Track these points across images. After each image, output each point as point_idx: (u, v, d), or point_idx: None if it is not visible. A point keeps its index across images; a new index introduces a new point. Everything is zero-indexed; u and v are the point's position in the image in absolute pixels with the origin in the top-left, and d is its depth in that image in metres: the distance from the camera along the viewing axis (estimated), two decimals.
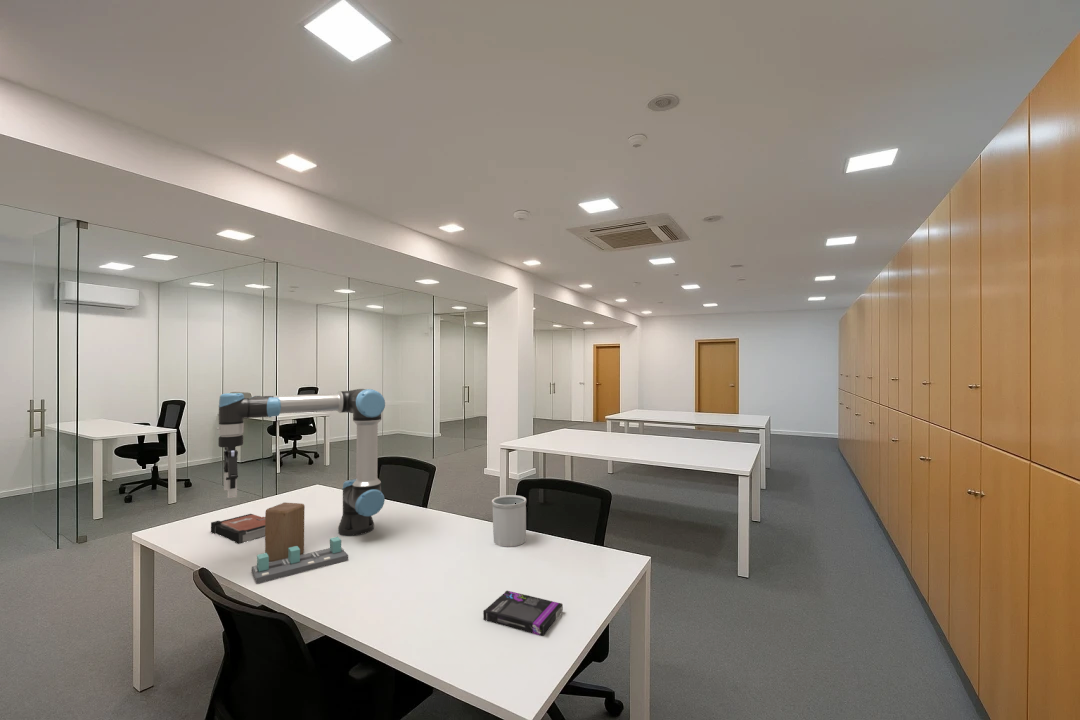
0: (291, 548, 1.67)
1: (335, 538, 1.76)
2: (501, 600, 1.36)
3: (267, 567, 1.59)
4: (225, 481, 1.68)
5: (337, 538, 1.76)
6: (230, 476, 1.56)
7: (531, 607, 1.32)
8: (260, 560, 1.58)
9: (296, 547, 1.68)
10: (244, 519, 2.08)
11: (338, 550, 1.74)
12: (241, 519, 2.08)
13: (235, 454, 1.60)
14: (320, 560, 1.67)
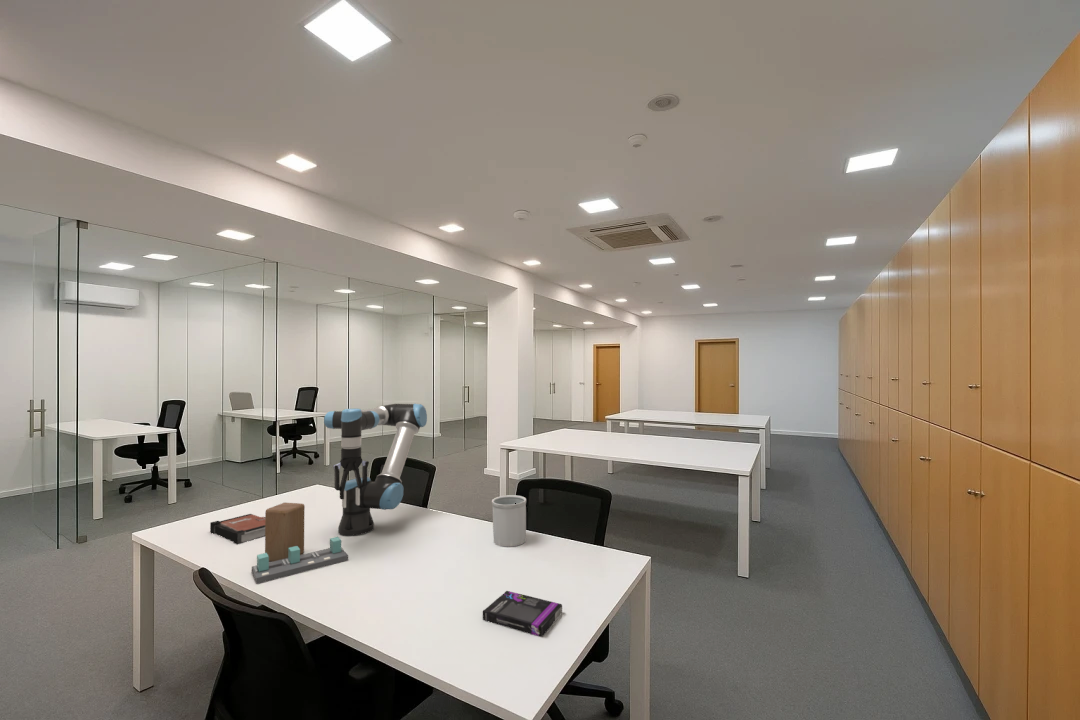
0: (291, 548, 1.67)
1: (335, 538, 1.76)
2: (500, 600, 1.36)
3: (267, 567, 1.59)
4: (355, 495, 1.82)
5: (337, 538, 1.76)
6: None
7: (530, 607, 1.31)
8: (260, 560, 1.58)
9: (296, 547, 1.68)
10: (243, 519, 2.08)
11: (338, 550, 1.74)
12: (240, 519, 2.08)
13: (335, 469, 1.76)
14: (320, 560, 1.67)
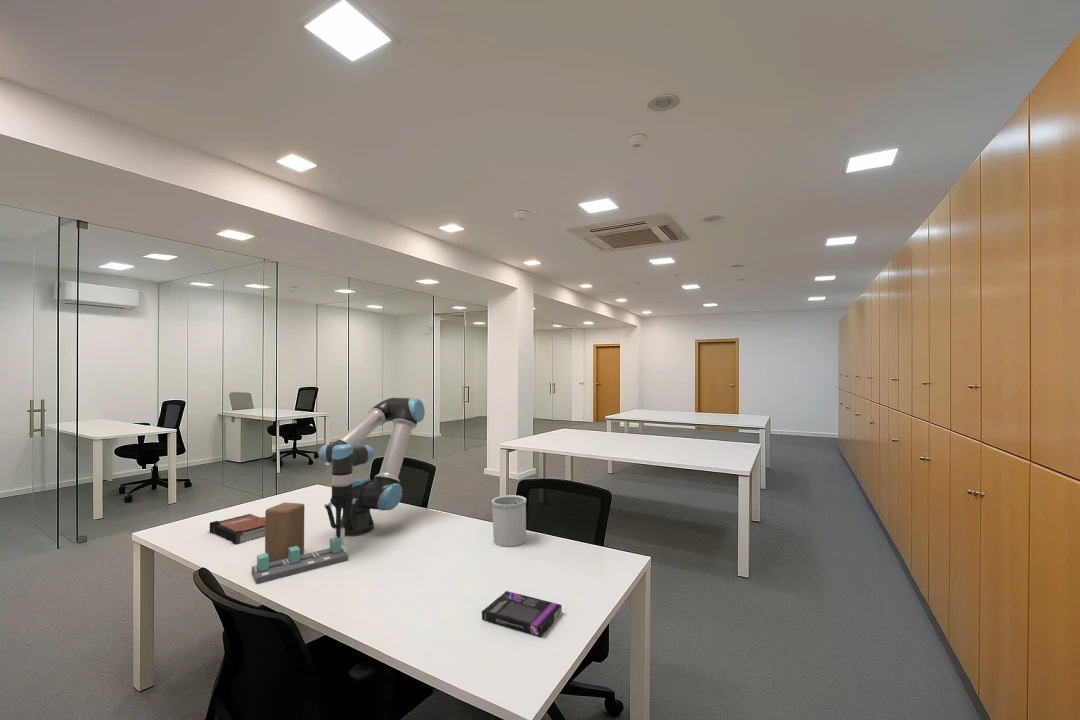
0: (291, 548, 1.67)
1: (335, 538, 1.76)
2: (500, 601, 1.35)
3: (267, 567, 1.59)
4: None
5: (337, 538, 1.76)
6: (331, 526, 1.75)
7: (529, 607, 1.31)
8: (260, 560, 1.58)
9: (296, 547, 1.68)
10: (243, 519, 2.08)
11: (338, 550, 1.74)
12: (240, 519, 2.08)
13: None
14: (320, 560, 1.67)
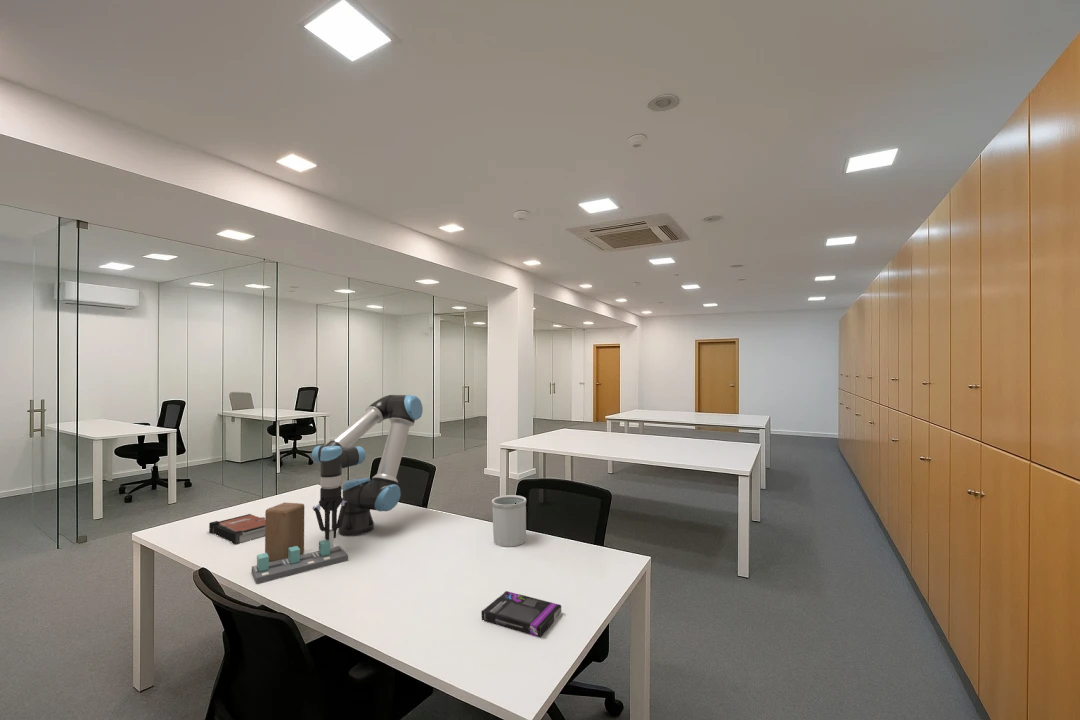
0: (291, 548, 1.67)
1: (324, 541, 1.74)
2: (499, 601, 1.35)
3: (267, 567, 1.59)
4: None
5: (326, 541, 1.74)
6: None
7: (529, 608, 1.31)
8: (260, 560, 1.58)
9: (296, 547, 1.68)
10: (242, 520, 2.08)
11: (327, 553, 1.72)
12: (239, 519, 2.08)
13: None
14: (320, 560, 1.67)
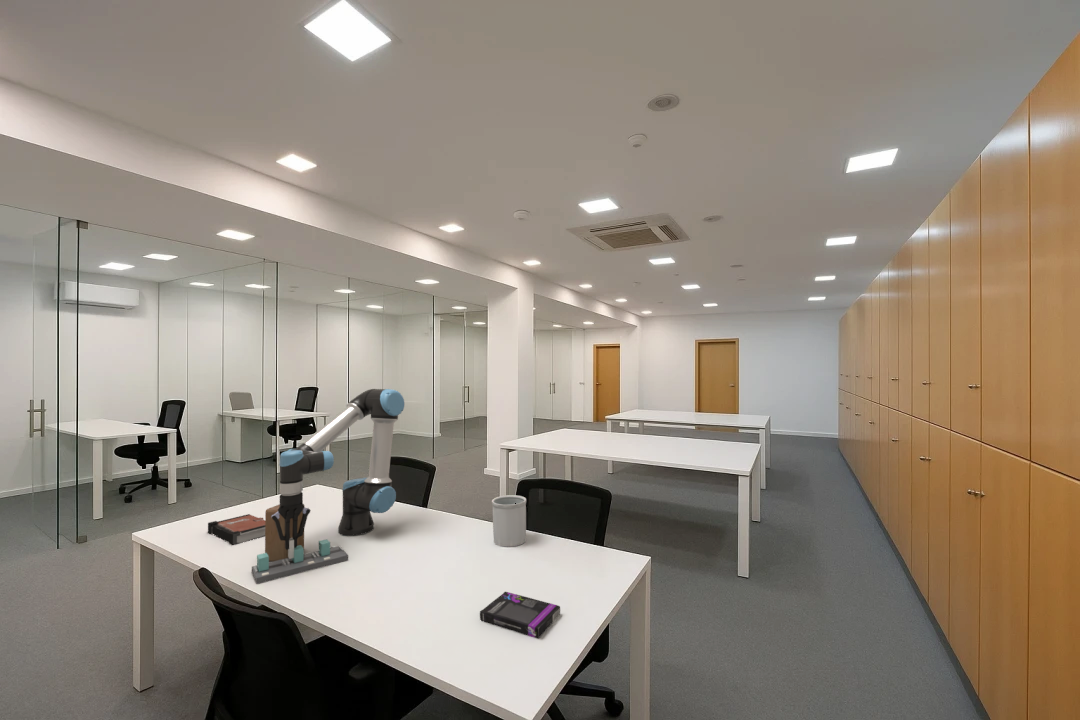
0: None
1: (324, 541, 1.74)
2: (498, 601, 1.35)
3: (267, 567, 1.59)
4: None
5: (326, 541, 1.74)
6: (279, 537, 1.64)
7: (528, 608, 1.31)
8: (260, 560, 1.58)
9: (300, 546, 1.68)
10: (241, 520, 2.07)
11: (327, 553, 1.72)
12: (238, 520, 2.07)
13: None
14: (320, 560, 1.67)
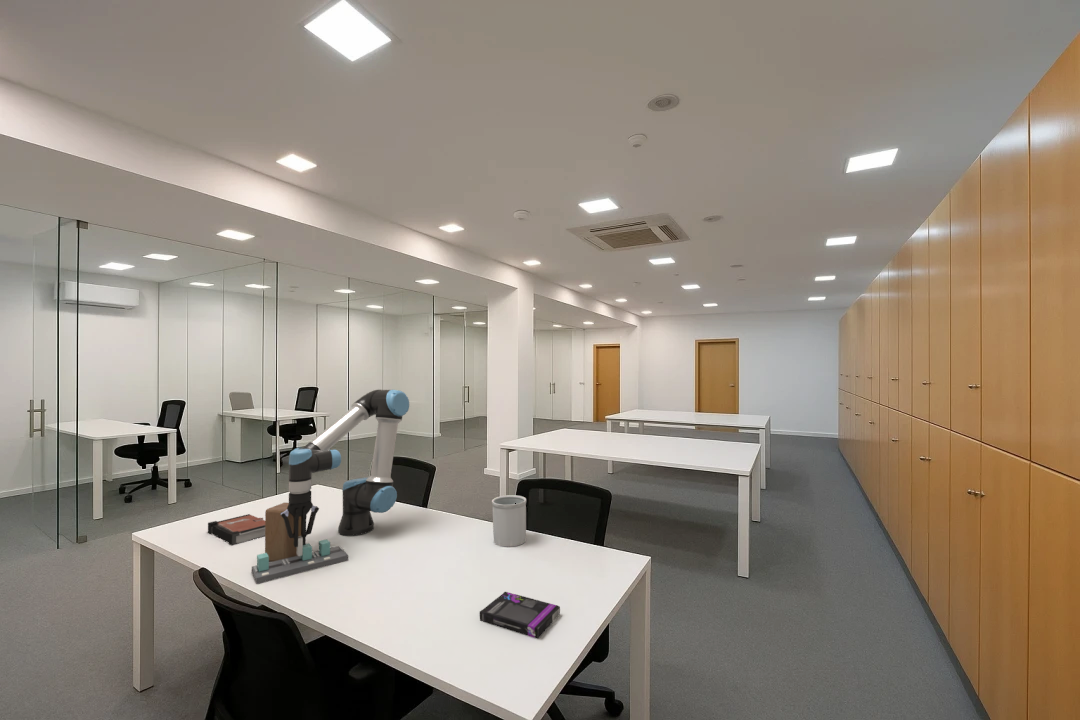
0: (303, 545, 1.69)
1: (324, 541, 1.74)
2: (498, 601, 1.35)
3: (267, 567, 1.59)
4: None
5: (326, 541, 1.74)
6: (288, 535, 1.66)
7: (527, 608, 1.31)
8: (260, 560, 1.58)
9: (308, 544, 1.70)
10: (241, 520, 2.07)
11: (327, 553, 1.72)
12: (238, 520, 2.07)
13: None
14: (320, 560, 1.67)
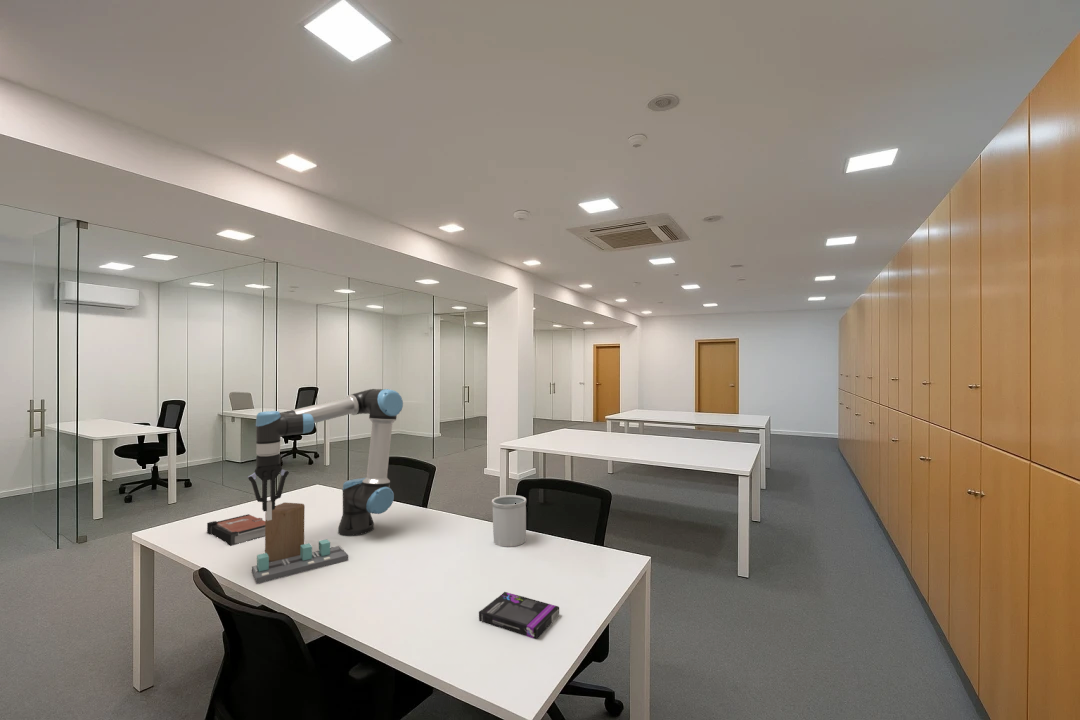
0: (303, 545, 1.69)
1: (324, 541, 1.74)
2: (497, 602, 1.35)
3: (267, 567, 1.59)
4: None
5: (326, 541, 1.74)
6: (256, 499, 1.61)
7: (527, 609, 1.30)
8: (260, 560, 1.58)
9: (308, 544, 1.70)
10: (240, 520, 2.07)
11: (327, 553, 1.72)
12: (237, 520, 2.07)
13: None
14: (320, 560, 1.67)
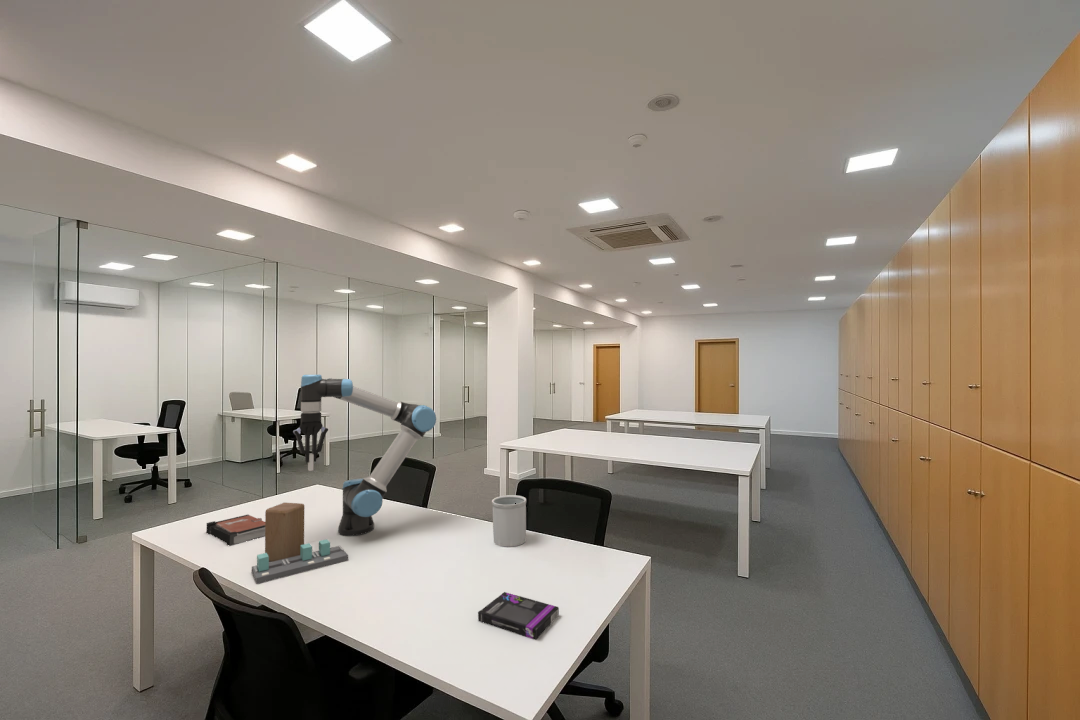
0: (303, 545, 1.69)
1: (324, 541, 1.74)
2: (497, 602, 1.35)
3: (267, 567, 1.59)
4: None
5: (326, 541, 1.74)
6: (300, 451, 1.81)
7: (526, 609, 1.30)
8: (260, 560, 1.58)
9: (308, 544, 1.70)
10: (240, 520, 2.07)
11: (327, 553, 1.72)
12: (237, 520, 2.07)
13: None
14: (320, 560, 1.67)
